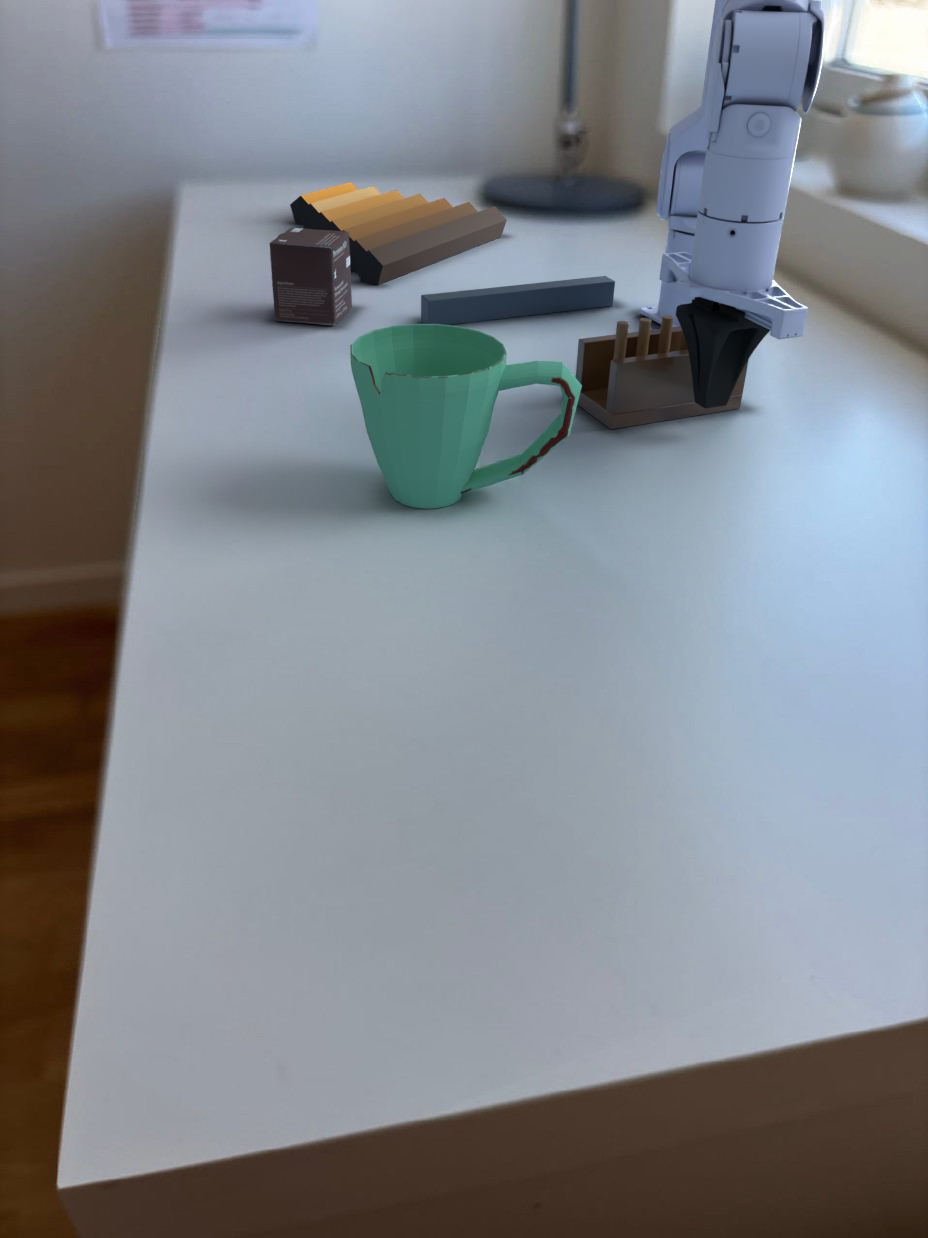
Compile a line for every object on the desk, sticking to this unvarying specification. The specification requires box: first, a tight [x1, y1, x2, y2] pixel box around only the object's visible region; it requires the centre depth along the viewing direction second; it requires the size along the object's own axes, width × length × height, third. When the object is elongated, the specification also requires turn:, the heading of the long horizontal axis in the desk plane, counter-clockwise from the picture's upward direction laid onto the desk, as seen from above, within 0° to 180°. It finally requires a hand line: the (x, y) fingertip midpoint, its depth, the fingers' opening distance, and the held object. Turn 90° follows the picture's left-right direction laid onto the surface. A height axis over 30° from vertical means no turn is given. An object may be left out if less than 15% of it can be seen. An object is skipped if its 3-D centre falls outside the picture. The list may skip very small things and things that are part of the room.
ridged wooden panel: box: [289, 181, 508, 286], centre depth 127 cm, size 25×3×25 cm
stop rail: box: [420, 275, 616, 325], centre depth 106 cm, size 20×2×2 cm, turn 114°
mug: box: [349, 323, 582, 510], centre depth 71 cm, size 15×10×10 cm
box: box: [269, 227, 353, 326], centre depth 103 cm, size 6×6×7 cm
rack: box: [574, 315, 750, 430], centre depth 86 cm, size 12×6×7 cm, turn 114°
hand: (710, 403), depth 81 cm, fingers closed
